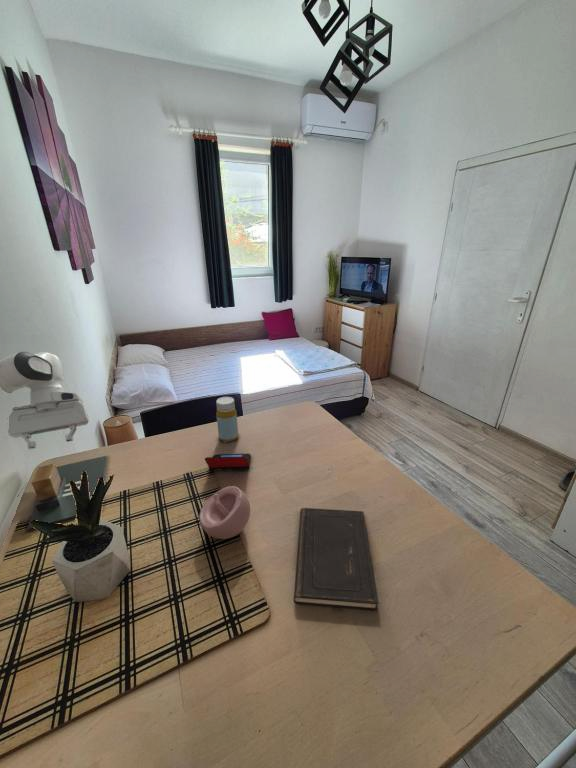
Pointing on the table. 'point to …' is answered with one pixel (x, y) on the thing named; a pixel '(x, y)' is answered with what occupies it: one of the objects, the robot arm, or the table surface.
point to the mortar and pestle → (225, 513)
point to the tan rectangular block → (48, 487)
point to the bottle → (226, 419)
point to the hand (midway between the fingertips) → (51, 444)
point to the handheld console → (228, 462)
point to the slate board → (67, 506)
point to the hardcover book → (334, 560)
